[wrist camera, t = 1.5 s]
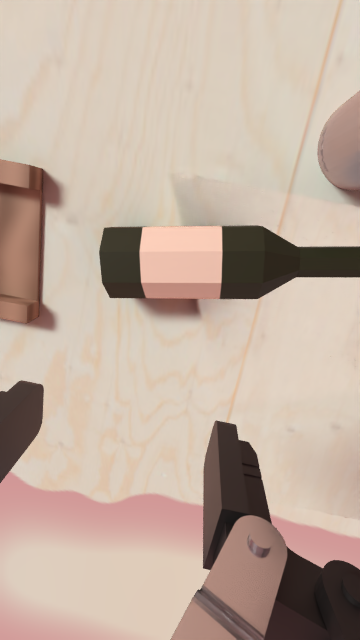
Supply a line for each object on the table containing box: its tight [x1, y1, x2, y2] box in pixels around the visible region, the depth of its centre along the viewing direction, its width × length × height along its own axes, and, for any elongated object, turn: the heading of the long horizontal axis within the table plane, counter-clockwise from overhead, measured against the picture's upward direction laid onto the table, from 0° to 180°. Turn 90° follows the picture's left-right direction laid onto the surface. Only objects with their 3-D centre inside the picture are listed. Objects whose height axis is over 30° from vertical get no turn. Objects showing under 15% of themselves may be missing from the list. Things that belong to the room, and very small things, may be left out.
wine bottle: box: [99, 226, 360, 299], centre depth 34 cm, size 8×8×30 cm
